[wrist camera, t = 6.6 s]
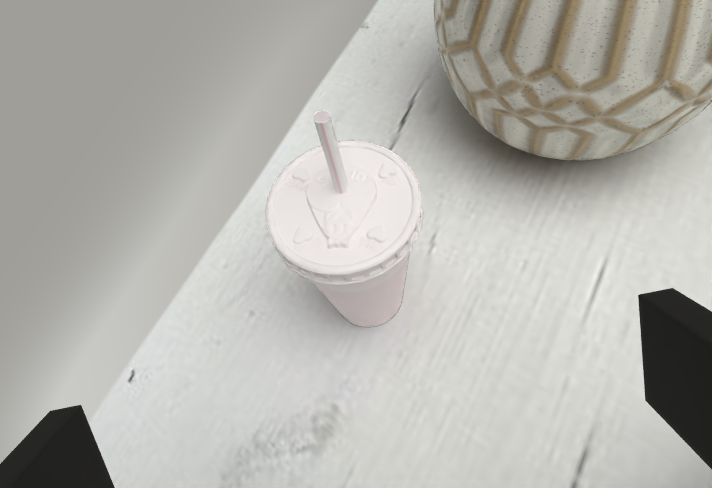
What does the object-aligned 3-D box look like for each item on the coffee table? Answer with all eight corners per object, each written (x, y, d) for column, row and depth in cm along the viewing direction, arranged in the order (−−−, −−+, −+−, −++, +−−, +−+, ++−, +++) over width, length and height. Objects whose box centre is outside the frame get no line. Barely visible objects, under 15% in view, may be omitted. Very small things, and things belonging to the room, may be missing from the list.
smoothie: (426, 243, 30) (419, 52, 18) (428, 352, 27) (420, 211, 15) (317, 245, 31) (240, 65, 19) (307, 351, 28) (208, 217, 16)
